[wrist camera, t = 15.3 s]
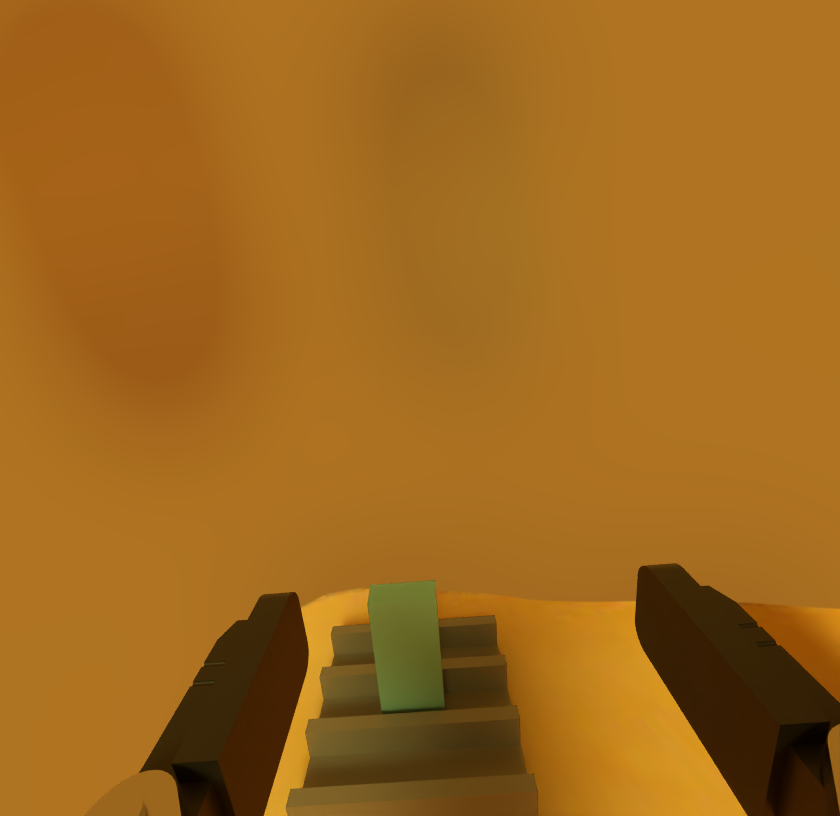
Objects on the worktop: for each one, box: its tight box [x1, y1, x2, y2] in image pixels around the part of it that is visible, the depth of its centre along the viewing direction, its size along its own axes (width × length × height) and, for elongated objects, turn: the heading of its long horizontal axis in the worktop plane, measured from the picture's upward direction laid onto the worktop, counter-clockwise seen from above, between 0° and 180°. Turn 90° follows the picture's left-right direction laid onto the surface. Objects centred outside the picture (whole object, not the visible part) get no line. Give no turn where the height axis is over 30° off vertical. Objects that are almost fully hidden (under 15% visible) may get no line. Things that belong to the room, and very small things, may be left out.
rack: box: [286, 615, 538, 816], centre depth 33 cm, size 16×15×4 cm
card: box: [368, 580, 445, 714], centre depth 32 cm, size 5×2×12 cm, turn 91°
